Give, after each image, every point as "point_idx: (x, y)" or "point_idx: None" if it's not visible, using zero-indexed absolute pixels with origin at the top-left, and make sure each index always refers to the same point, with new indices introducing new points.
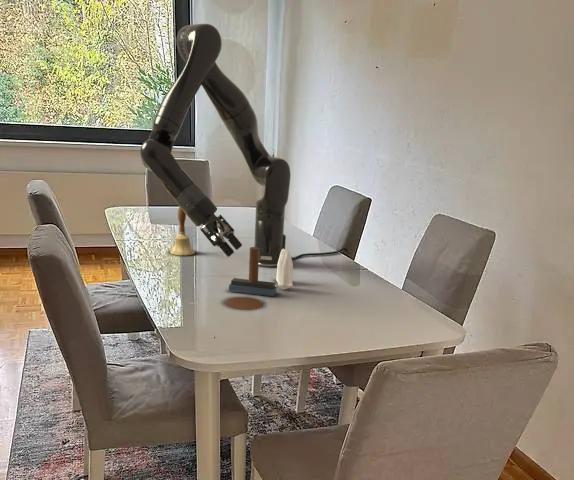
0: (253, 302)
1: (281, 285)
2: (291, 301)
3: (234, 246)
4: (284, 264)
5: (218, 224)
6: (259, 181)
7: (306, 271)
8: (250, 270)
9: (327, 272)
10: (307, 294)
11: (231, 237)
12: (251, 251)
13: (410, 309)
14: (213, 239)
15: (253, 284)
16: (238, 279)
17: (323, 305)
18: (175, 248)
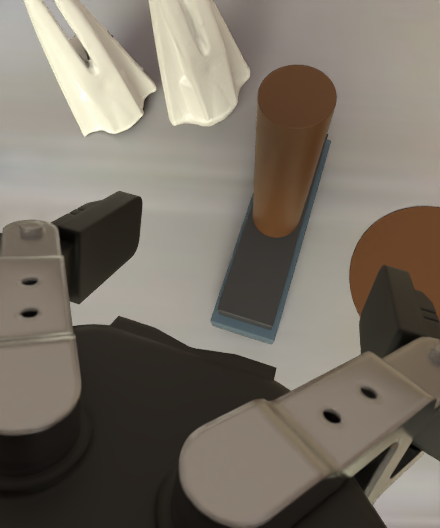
0: (417, 242)
1: (230, 111)
2: (367, 100)
3: (121, 257)
4: (216, 26)
5: (302, 438)
6: None
7: None
8: (300, 203)
9: None
10: (269, 43)
11: (80, 260)
12: (323, 131)
13: None
14: (380, 494)
15: (303, 218)
16: (244, 287)
17: (393, 7)
18: None
